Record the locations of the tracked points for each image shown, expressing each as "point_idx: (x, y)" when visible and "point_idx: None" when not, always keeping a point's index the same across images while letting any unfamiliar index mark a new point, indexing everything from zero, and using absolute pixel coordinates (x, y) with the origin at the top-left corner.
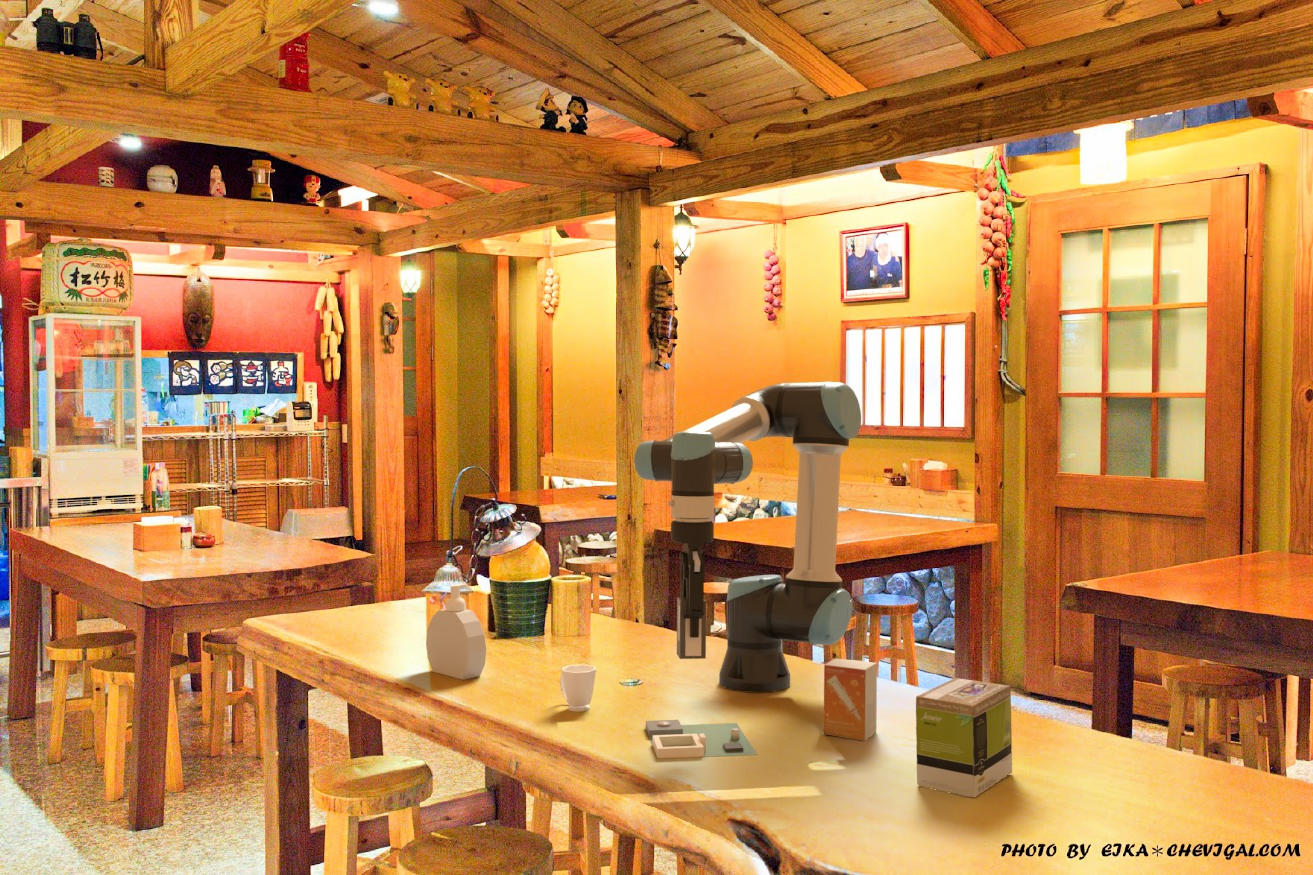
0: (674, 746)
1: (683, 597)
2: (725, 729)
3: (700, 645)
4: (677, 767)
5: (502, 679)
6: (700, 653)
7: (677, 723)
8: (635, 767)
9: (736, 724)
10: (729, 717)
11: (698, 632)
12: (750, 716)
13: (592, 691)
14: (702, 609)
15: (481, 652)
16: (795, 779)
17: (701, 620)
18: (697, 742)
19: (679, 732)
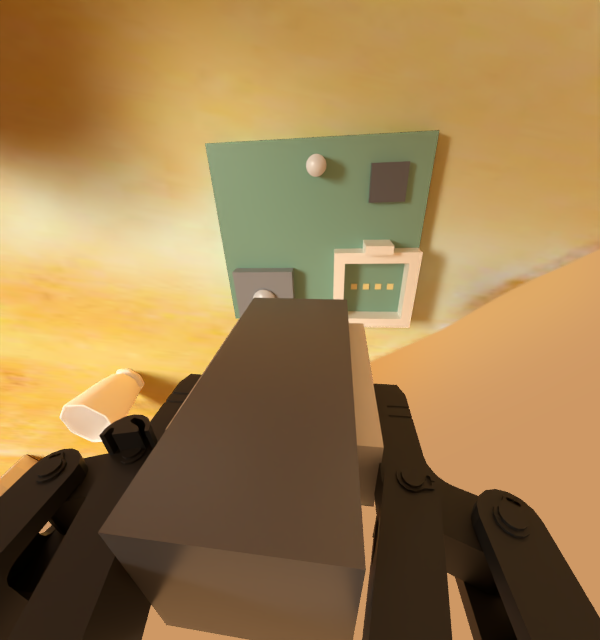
0: (403, 301)
1: (162, 610)
2: (252, 178)
3: (367, 348)
4: (419, 288)
5: (28, 438)
6: (364, 330)
7: (256, 276)
8: (401, 342)
9: (216, 145)
10: (125, 147)
11: (406, 405)
12: (106, 90)
13: (111, 383)
14: (563, 570)
15: (5, 484)
16: (589, 49)
17: (380, 435)
18: (390, 259)
19: (292, 275)
